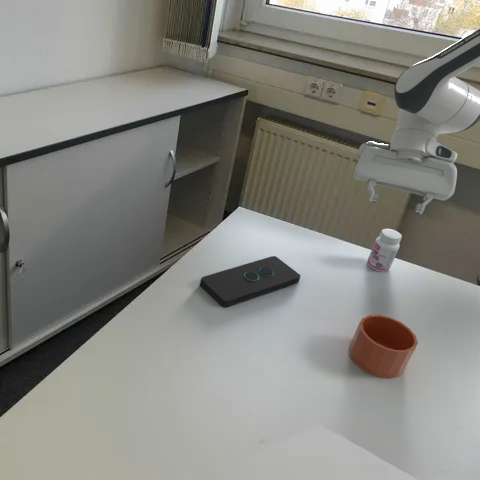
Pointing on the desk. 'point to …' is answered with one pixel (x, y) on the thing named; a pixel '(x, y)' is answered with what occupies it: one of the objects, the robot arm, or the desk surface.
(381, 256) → the pill bottle
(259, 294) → the smart home device
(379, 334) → the terracotta cup
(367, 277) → the desk surface
